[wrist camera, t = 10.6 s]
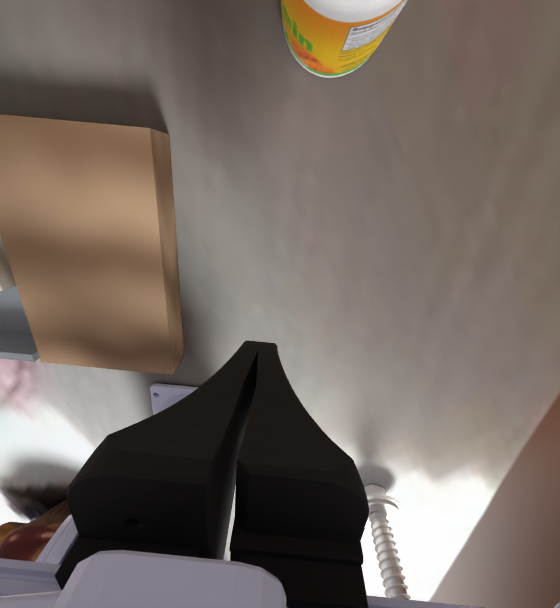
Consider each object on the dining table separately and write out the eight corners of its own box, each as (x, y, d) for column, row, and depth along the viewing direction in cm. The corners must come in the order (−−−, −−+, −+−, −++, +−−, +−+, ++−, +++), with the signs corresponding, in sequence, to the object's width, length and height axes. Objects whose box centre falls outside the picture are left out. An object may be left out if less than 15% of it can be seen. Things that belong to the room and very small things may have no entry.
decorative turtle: (153, 543, 36) (117, 637, 28) (34, 529, 36) (-33, 619, 28) (146, 494, 32) (102, 589, 24) (12, 479, 32) (-73, 569, 24)
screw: (348, 506, 31) (348, 477, 29) (394, 505, 30) (396, 476, 28) (383, 712, 19) (386, 686, 17) (458, 715, 19) (470, 689, 17)
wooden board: (184, 355, 24) (172, 374, 21) (65, 344, 24) (41, 362, 21) (169, 134, 17) (149, 128, 15) (5, 119, 17) (-40, 110, 15)
